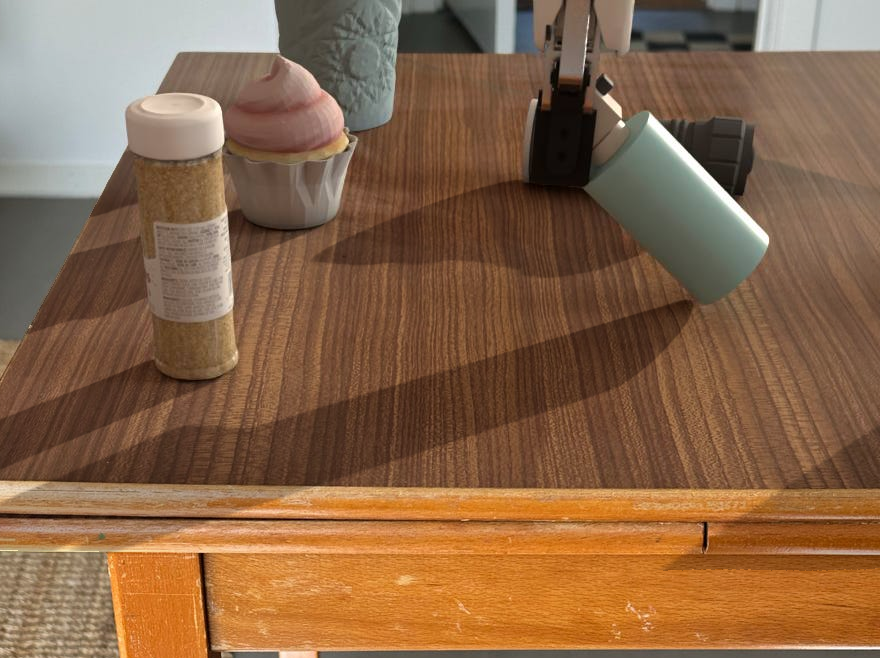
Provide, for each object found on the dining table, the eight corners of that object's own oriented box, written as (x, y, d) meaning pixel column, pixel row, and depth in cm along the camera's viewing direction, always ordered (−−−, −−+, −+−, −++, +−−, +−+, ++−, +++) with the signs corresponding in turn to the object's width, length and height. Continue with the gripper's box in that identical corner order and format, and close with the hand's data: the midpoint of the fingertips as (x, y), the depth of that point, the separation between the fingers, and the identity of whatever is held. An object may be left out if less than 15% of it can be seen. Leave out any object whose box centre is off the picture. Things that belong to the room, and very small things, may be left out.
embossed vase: (301, 91, 109) (296, -71, 102) (419, 102, 107) (422, -62, 100) (258, 129, 102) (249, -44, 94) (385, 141, 100) (385, -34, 92)
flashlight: (747, 185, 93) (761, 105, 89) (747, 212, 89) (761, 130, 85) (530, 167, 95) (535, 89, 92) (519, 193, 91) (525, 112, 88)
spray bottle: (695, 282, 79) (765, 220, 77) (700, 319, 75) (774, 255, 73) (536, 123, 75) (603, 52, 72) (532, 153, 71) (604, 79, 68)
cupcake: (219, 191, 91) (206, 36, 85) (354, 187, 92) (351, 33, 86) (217, 243, 84) (204, 77, 77) (364, 238, 84) (363, 74, 78)
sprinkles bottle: (163, 344, 72) (134, 88, 64) (246, 346, 72) (228, 90, 64) (147, 383, 69) (114, 117, 60) (234, 385, 69) (213, 119, 60)
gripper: (688, -191, 56) (629, 233, 67) (672, -229, 68) (625, 134, 80) (511, -200, 56) (482, 222, 68) (528, -236, 69) (501, 126, 80)
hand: (560, 172), depth 74 cm, fingers closed, pressing on spray bottle
